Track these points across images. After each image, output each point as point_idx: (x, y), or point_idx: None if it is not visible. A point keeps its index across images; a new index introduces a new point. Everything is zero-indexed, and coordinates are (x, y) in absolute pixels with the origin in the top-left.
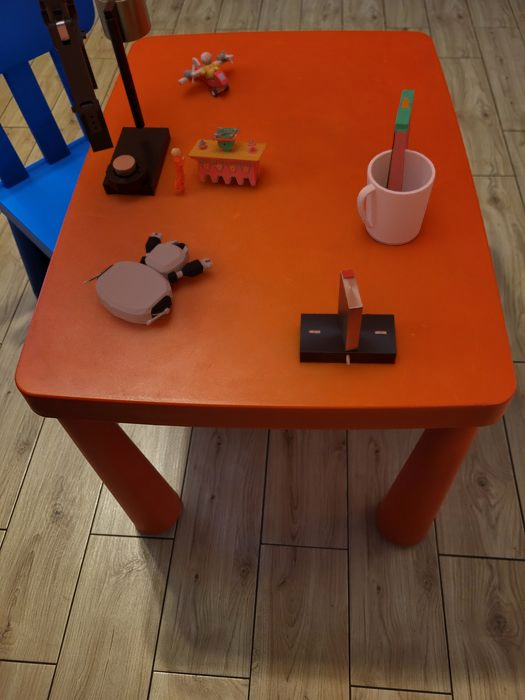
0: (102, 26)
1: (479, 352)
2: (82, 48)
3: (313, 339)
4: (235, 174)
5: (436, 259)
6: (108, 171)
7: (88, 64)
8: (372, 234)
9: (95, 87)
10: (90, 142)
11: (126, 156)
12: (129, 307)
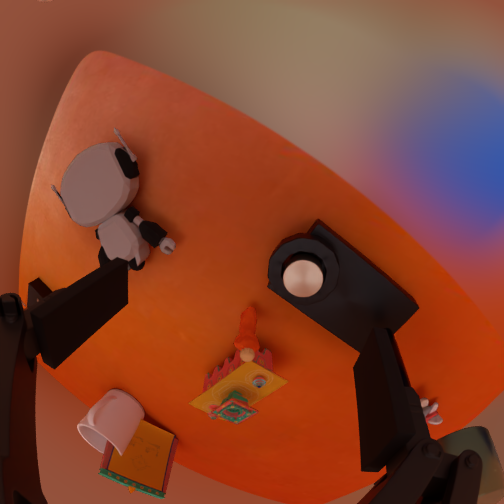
0: (477, 442)
1: (40, 357)
2: (364, 458)
3: (34, 297)
4: (218, 374)
5: (94, 396)
6: (317, 246)
7: (361, 417)
8: (116, 391)
9: (356, 366)
10: (100, 268)
11: (314, 289)
12: (64, 175)
